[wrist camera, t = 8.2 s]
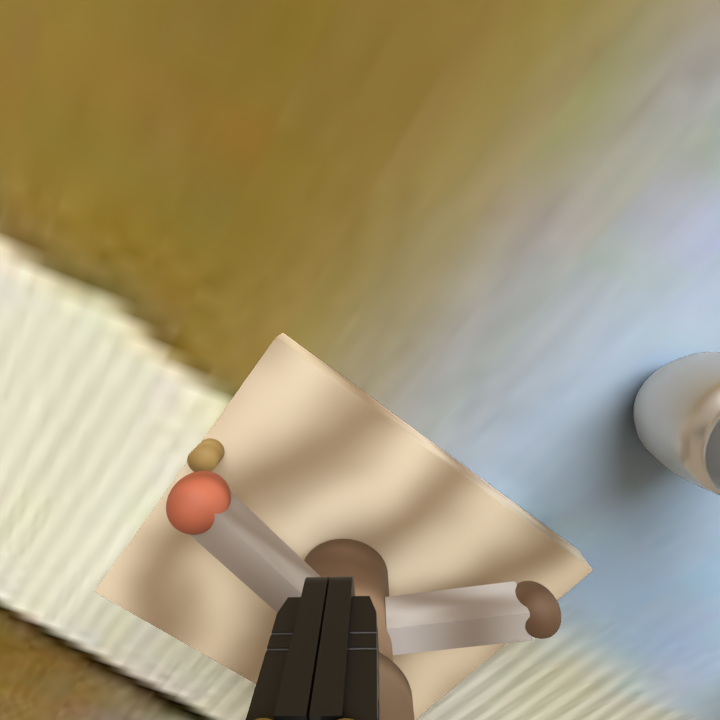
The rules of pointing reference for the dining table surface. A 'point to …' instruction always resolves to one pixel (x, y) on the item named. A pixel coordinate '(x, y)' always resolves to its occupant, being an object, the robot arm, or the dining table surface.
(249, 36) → the dining table surface
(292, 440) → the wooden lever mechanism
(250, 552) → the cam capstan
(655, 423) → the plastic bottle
